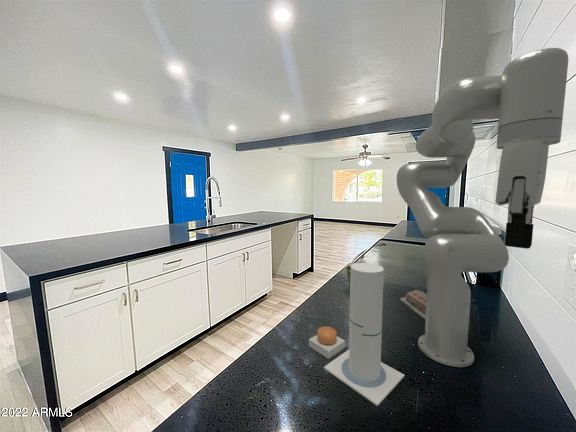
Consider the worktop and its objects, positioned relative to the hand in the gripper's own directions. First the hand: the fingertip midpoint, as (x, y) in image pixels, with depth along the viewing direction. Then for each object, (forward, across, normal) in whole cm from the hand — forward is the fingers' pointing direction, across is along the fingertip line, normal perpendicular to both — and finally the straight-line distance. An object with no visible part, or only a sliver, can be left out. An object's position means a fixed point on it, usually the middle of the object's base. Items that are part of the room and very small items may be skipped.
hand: (517, 246), depth 42 cm
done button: (+31, +7, -36) cm, 48 cm away
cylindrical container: (+33, +8, -24) cm, 41 cm away
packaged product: (+34, -36, -26) cm, 56 cm away
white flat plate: (+33, +8, -24) cm, 42 cm away
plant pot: (+33, -29, -49) cm, 66 cm away
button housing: (+33, +7, -36) cm, 49 cm away
